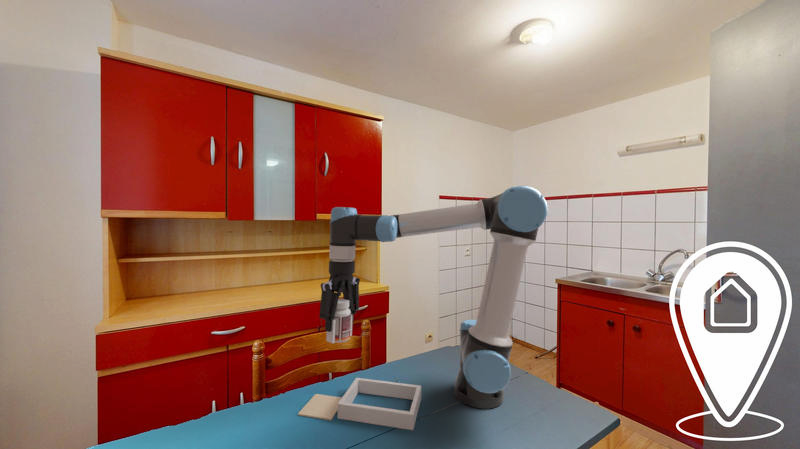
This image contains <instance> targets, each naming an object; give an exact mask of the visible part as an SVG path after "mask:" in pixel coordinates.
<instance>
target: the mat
mask: <svg viewBox="0 0 800 449" xmlns="http://www.w3.org/2000/svg"><path fill="white" fill-rule="evenodd" d="M341 399H342V397H340V396H334V395H327V394H318V393H315V394H314V395H313V396H312V397H311V399H309V401H308V402H307V403H306V404H305V405H304V406H303V407H302V408H301V410H300V411H299V412H298V413H297V415H298V416H301V417H307V418H308V417H309V418H313V419H314V418H315V419H319V420H326V421H332V420H333V418H334V417H335V415H336V413H338V403H339V401H340V400H341Z"/></svg>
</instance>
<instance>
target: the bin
mask: <svg viewBox="0 0 800 449" xmlns="http://www.w3.org/2000/svg"><path fill="white" fill-rule="evenodd" d="M359 393H361V394H367V395H375V396H379V397H380V396H382V397H389V398H396V399H403V400H404V399H405V400H412V402H411V406H410V409H409V411H408V410H402V409H395V408H387V407H382V406H381V407H380V406H374V405H368V404H367V405H366V404H361V403H360V404H359V403H353V402H354V400H355V398H357V396H358V394H359ZM341 398H342V399H341V400H340V401H339V403H338V411H337V419H338V420H339V419H340V420H345V421H353V422H359V423H365V424H371V425H377V426H383V427H388V428H389V427H390V428H396V429H402V430H407V431H409V430H410V431H414V428H415V425H416V421H417V417H418V414H419V413H418V412H419V408H420V404H421V400H422V385H418V384H410V383H401V382H394V381H385V380H377V379H370V378H364V377H363V378H361V377H356V378H355V379H354V380H353V382H352V383H351V385H350V386H349V387H348V389H347V390H346V391H345V393H344V394H343V396H342V397H341Z"/></svg>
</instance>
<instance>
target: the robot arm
mask: <svg viewBox="0 0 800 449" xmlns="http://www.w3.org/2000/svg"><path fill="white" fill-rule="evenodd" d="M548 207H549V206H548V204H547V200H546V199H545V197H544V195H543V194H542V193H541V192H540V191H539V190H538V189H535V188H534V187H531V186H527V185H516V186H511V187H509V188H507V189H506V190H505V191H503V192H502V193H500V194H497V195H494V196H492V197H488V198H482V199H479V200H478V201H477V202H476V203H471V204H463V205H458V206H457V205H456V206H448V207H442V208H436V209H428V210H421V211H414V212H408V213H407V212H406V213H399V214H393V215H387V214H381V215H377V214H376V215H374V214H366V215H365V214H358V211H357V208H355V207H348V206H347V207H344V206H335V207H333V208H332V209H331V211H330V221H329V251H328V252H329V256H328V257H329V259H330V260H329V261H328V273H329V279H328V281H327V282H322V283H320V289H321V290H320V291H321V295H320V296H321V297H320V304H319V305H320V308H319V315H318V316H319V319H322V320H325V322H324V323H325V325H324V328H325V332H326V339H325V340H326V342H328V343H331V344H335V343H336V342H335V322H336V320H334V319H333V318H334V314H335V310H336V307H337V303H338V299H340V297H341V295H342V297H343V299H347V300H349V309H350V311H351V323H350V337H352V336H353V324H354V315H356V314H357V312H358V310H359V309H360V293H359V292H360V291H359V290H360V288H359V286H360V281H361V279H360V278H359V277H355V276H354V275H353V274H354V273H355V272H356V270H355V268H356V261H355V259H356V247H357V246H356V242H357V241H366V242H381V243H386V242H387V243H388V242H390V243H392V242H394V241H396V239H398V238H399V239H400V238H405V237H411V236H413V237H414V236H420V235H426V234H427V235H428V234H429V235H430V234H435V233H444V232H445V233H446V232H452V231H460V230H469V229H474V228H475V229H476V228H481V229H482V230H484V231H486V230H490V231H489V233H490V235H491V236H492V239H493V242H492V243H493V244H492V249H491V253H490V257H489V262H488V266H487V272H486V276H485V279H484V280H485V282H484V285H483V290H482V295H481V300H480V302H479V303H480V304H479V307H478V308H479V309H478V312H477V316H476V317H477V318H476V319H466V320H463V321H462V322H461V323H460V327H459V328H460V329H459V332H460V333H459V335H460V336H459V339H460V341H459V343H460V344H459V363H460V364H459V369H458V373H457V375H456V378H455V381H454V383H453V384H454V385H453V388H454V395H455V397H456V399H458V401H460V402H462V403H463V404H464V405H466V406H469V407H471V408H475V409H476V408H477V409H482V410H483V409H486V410H487V409H493V408H494V409H495V408H498V407H499V406H501V405H502V404H503V402H504V401H505V400H504V399H505V398H504V397H505V392H504V390H505V388H506V387H507V386H508V384H510V382H511V376H512V369H511V365H510V363H509V362H510V358H511V354H512V348H513V343H514V342H513V340H512V338H511V336H510V335H509V332H510V329H511V324H512V319H513V315H514V311H515V306H516V302H517V297H518V292H519V289H520V283H521V278H522V273H523V271H524V270H523V269H524V266H525V261H526V256H527V253H528V252H527V251H528V248H529V247H530V246H532V244H534V243H536V240H537V237H538V231H539V229H540V227H541V226H542V225H543V223H544V222H545V220H546V219H547V217H548Z"/></svg>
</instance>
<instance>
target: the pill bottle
mask: <svg viewBox="0 0 800 449" xmlns="http://www.w3.org/2000/svg"><path fill="white" fill-rule="evenodd" d="M333 319H334V320H336V322H335V343H336V344H337V343H339V344H340V343H346V342H348V341H349V340H350V339H351V336H350V323H351V311H350V309H349V300H347V299H344V298H339V299H338V303H337V307H336V310H335V314H334V318H333Z"/></svg>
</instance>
